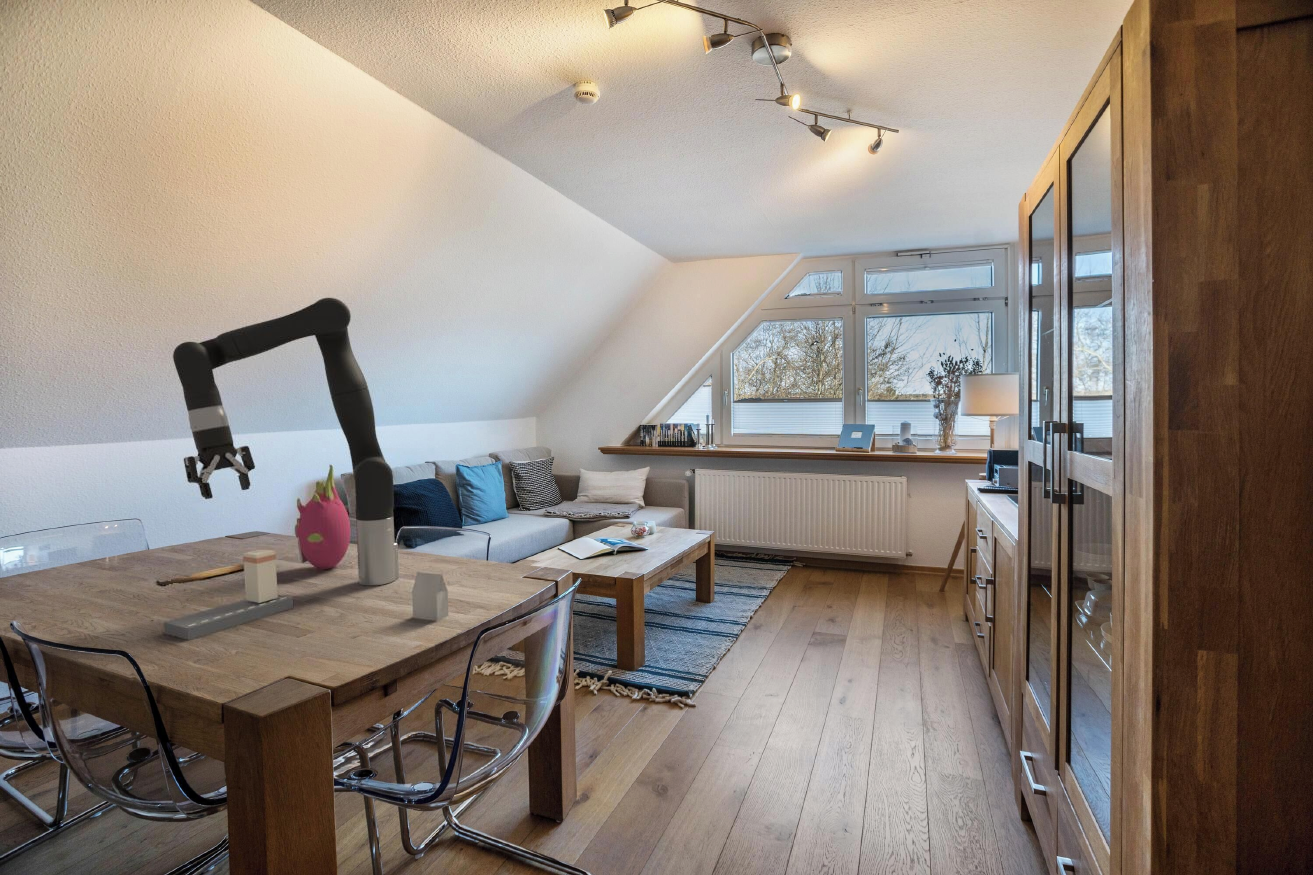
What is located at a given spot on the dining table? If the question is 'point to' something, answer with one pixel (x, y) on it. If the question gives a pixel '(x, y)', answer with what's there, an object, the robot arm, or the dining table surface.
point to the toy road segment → (225, 617)
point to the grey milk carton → (429, 597)
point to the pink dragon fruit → (323, 527)
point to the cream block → (260, 575)
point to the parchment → (203, 575)
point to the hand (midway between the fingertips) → (227, 493)
